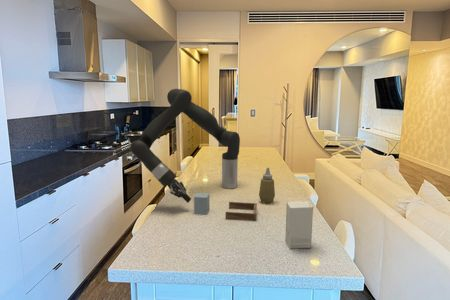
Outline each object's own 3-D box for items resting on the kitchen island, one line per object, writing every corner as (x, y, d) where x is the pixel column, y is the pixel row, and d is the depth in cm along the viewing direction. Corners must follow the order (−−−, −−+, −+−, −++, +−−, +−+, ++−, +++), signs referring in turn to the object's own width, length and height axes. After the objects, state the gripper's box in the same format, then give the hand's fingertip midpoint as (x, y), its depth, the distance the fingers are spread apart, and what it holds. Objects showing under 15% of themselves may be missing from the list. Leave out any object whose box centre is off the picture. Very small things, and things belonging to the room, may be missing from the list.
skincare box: (306, 240, 112) (308, 200, 110) (311, 249, 106) (314, 207, 103) (284, 240, 112) (286, 200, 109) (288, 249, 106) (290, 207, 103)
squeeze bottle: (262, 205, 148) (263, 170, 145) (256, 200, 156) (257, 166, 153) (277, 204, 151) (278, 169, 147) (270, 199, 158) (272, 165, 155)
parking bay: (229, 207, 145) (229, 201, 144) (256, 209, 143) (256, 203, 143) (225, 219, 131) (225, 212, 131) (255, 221, 129) (255, 214, 129)
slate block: (197, 209, 143) (196, 192, 142) (209, 209, 142) (209, 193, 141) (194, 213, 137) (194, 196, 136) (207, 214, 136) (207, 197, 135)
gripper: (164, 172, 132) (191, 200, 132) (173, 165, 145) (198, 191, 145) (153, 183, 133) (180, 211, 134) (163, 176, 146) (187, 201, 147)
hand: (189, 200), depth 140 cm, fingers closed
